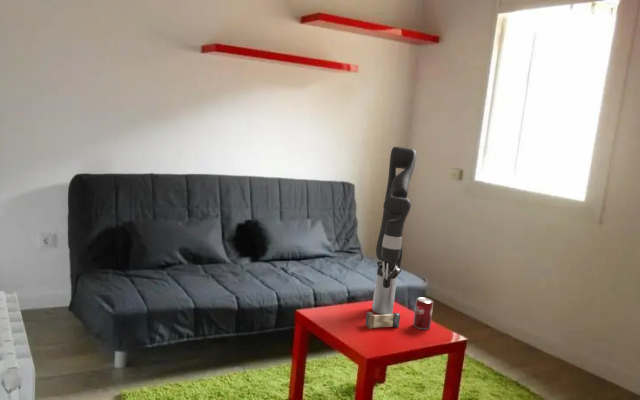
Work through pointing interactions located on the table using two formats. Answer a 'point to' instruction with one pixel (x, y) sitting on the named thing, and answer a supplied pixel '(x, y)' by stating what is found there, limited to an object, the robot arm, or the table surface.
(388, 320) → the gate
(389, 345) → the table surface
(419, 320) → the soda can
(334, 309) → the table surface
